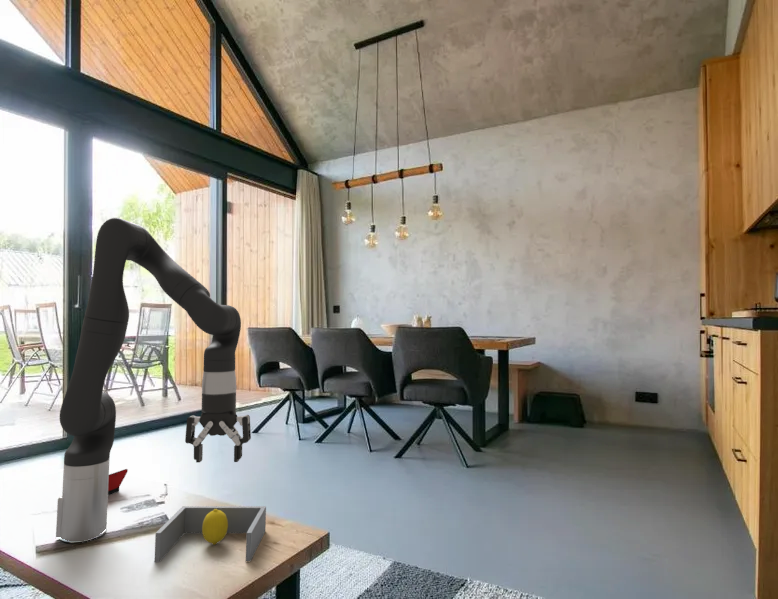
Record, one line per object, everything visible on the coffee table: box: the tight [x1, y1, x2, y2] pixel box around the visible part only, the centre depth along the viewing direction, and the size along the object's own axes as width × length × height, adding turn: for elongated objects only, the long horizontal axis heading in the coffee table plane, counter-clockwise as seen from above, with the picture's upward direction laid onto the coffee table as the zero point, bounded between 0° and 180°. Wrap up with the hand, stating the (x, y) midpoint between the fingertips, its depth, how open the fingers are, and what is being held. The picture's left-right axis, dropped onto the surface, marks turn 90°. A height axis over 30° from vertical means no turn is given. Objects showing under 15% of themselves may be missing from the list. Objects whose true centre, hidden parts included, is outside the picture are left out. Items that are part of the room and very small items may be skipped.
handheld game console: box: [108, 468, 129, 496], centre depth 139 cm, size 12×11×7 cm
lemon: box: [201, 509, 228, 546], centre depth 110 cm, size 6×6×8 cm
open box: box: [153, 505, 267, 563], centre depth 110 cm, size 20×15×6 cm
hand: (218, 461), depth 111 cm, fingers open, 8 cm apart
